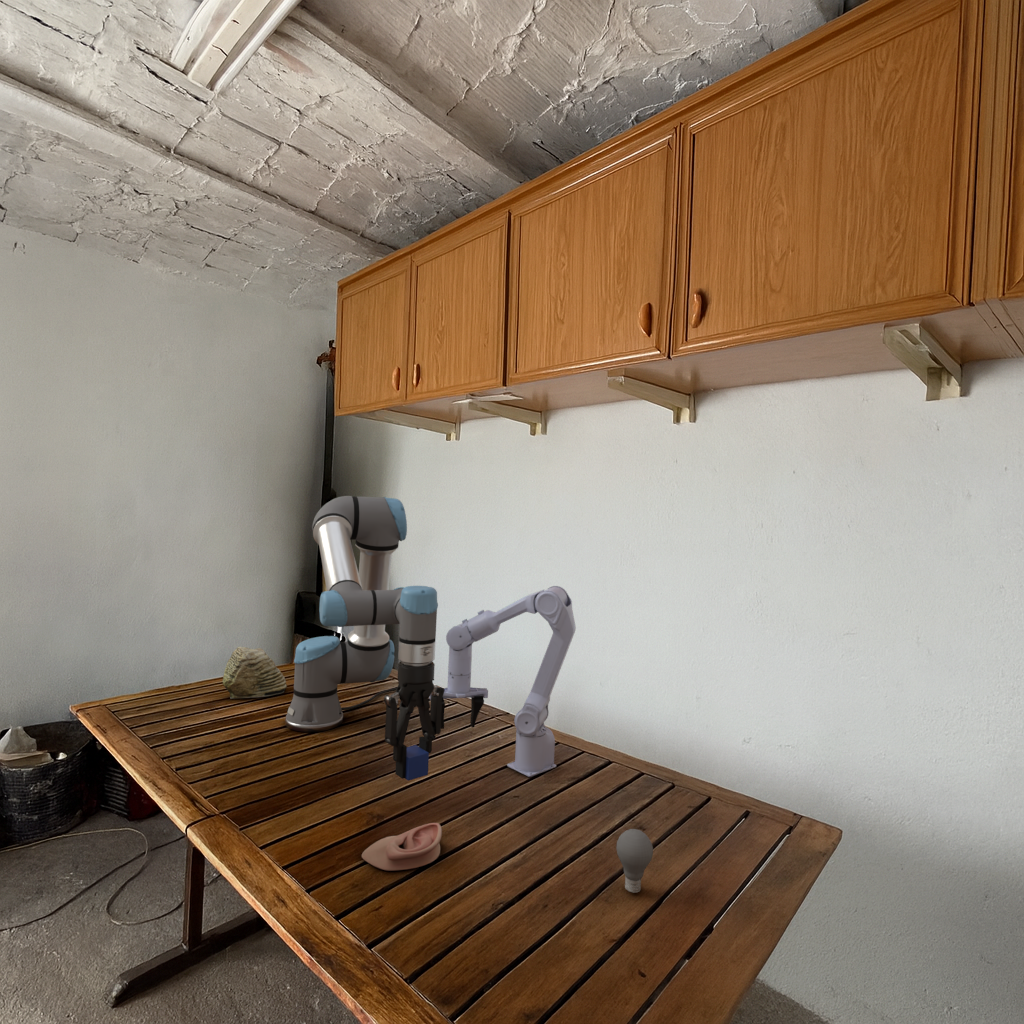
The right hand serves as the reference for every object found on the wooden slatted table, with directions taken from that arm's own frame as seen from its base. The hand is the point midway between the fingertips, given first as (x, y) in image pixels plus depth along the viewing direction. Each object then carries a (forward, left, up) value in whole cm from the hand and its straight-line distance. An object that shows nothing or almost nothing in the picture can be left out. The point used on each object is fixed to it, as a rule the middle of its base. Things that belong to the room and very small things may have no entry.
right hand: (457, 726), depth 158 cm
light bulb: (+11, +62, -7) cm, 63 cm away
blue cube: (+23, +14, -1) cm, 27 cm away
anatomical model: (+35, +28, -7) cm, 46 cm away
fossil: (+21, -75, -7) cm, 78 cm away
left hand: (+23, +14, 0) cm, 27 cm away
